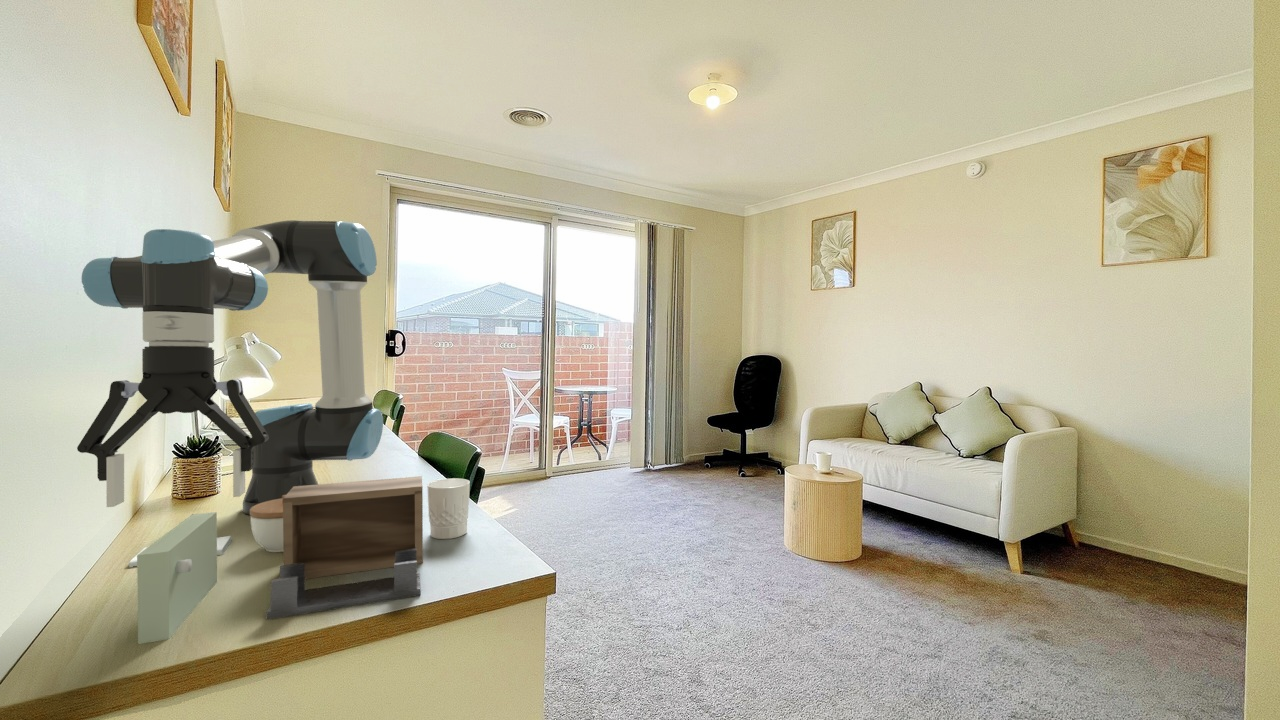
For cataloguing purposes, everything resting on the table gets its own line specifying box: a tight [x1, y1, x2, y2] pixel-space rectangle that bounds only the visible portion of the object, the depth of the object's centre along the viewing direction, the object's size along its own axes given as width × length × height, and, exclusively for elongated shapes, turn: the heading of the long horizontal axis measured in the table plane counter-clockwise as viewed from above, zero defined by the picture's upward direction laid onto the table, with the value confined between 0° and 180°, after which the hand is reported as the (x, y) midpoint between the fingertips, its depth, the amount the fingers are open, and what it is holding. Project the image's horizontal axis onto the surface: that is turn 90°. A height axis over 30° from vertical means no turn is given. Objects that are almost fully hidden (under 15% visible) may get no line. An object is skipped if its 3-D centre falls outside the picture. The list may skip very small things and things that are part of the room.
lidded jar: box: [249, 495, 286, 553], centre depth 99 cm, size 11×11×9 cm
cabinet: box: [282, 475, 424, 580], centre depth 91 cm, size 8×20×13 cm, turn 113°
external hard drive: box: [128, 535, 233, 568], centre depth 96 cm, size 2×8×12 cm
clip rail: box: [266, 548, 422, 621], centre depth 79 cm, size 6×19×5 cm, turn 113°
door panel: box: [136, 511, 218, 645], centre depth 75 cm, size 18×4×11 cm, turn 23°
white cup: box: [426, 477, 471, 540], centre depth 106 cm, size 8×8×10 cm
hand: (179, 499), depth 75 cm, fingers open, 13 cm apart
